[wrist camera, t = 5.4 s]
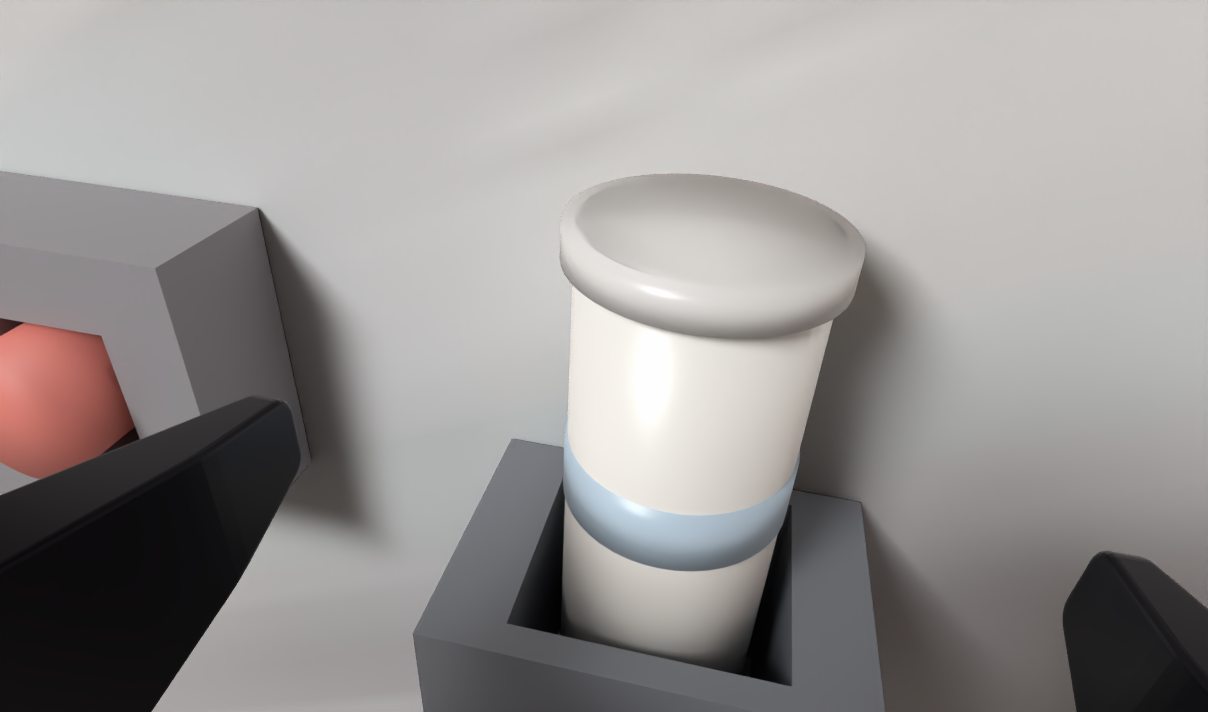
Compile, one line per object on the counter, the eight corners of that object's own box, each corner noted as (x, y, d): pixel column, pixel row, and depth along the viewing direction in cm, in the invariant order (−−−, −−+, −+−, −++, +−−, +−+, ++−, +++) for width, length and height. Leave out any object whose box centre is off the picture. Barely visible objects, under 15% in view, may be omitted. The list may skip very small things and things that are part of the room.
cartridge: (742, 642, 19) (730, 822, 15) (575, 606, 19) (525, 771, 16) (854, 192, 12) (881, 320, 9) (597, 161, 13) (521, 266, 9)
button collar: (311, 461, 19) (240, 545, 17) (78, 415, 20) (-22, 489, 18) (257, 207, 15) (154, 267, 13) (-27, 167, 16) (-172, 216, 14)
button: (216, 394, 18) (103, 493, 15) (110, 374, 19) (-21, 466, 16) (184, 286, 16) (52, 372, 14) (69, 267, 17) (-85, 347, 14)
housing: (805, 668, 19) (810, 905, 15) (515, 605, 21) (437, 807, 16) (860, 502, 16) (888, 742, 12) (511, 438, 17) (412, 633, 13)
